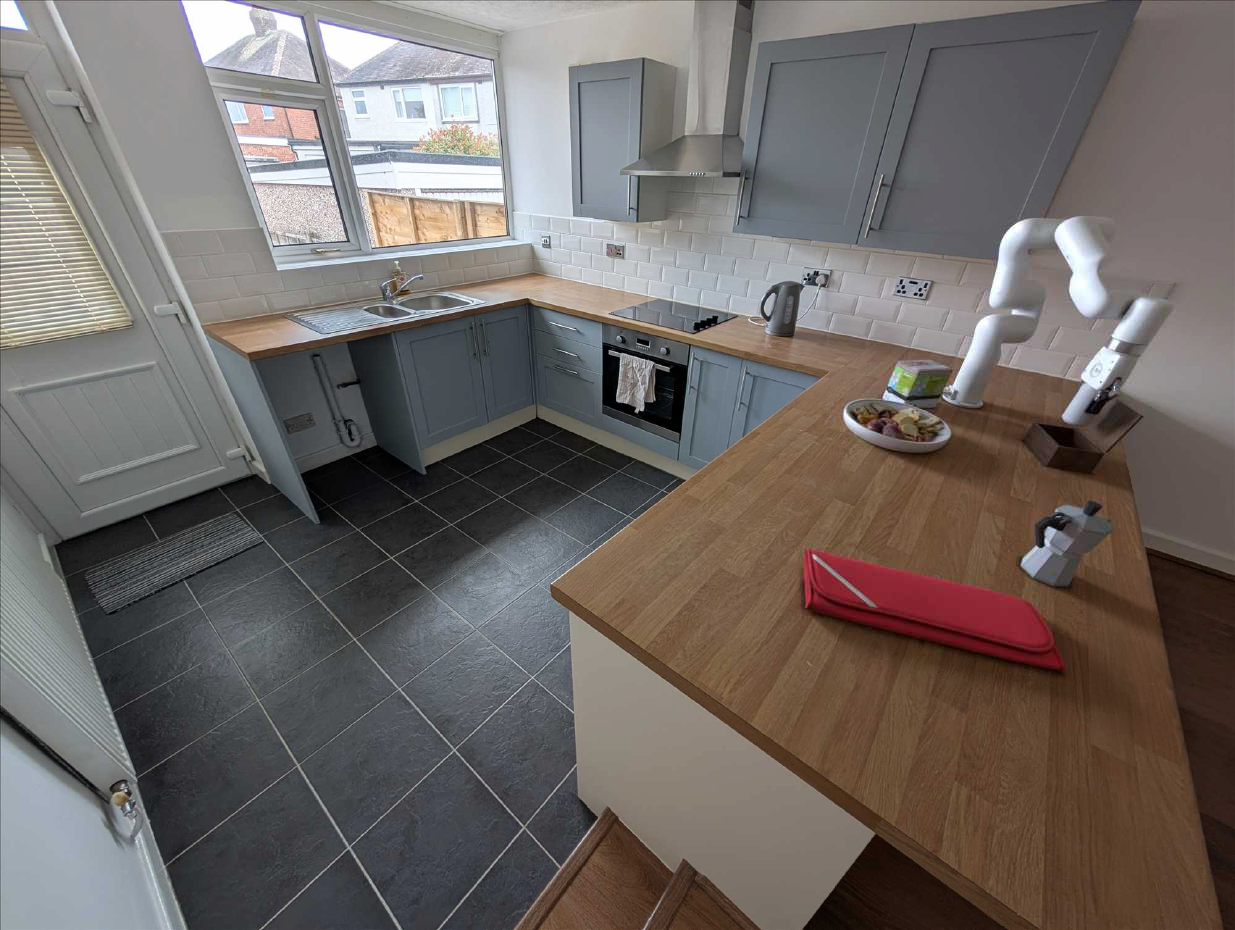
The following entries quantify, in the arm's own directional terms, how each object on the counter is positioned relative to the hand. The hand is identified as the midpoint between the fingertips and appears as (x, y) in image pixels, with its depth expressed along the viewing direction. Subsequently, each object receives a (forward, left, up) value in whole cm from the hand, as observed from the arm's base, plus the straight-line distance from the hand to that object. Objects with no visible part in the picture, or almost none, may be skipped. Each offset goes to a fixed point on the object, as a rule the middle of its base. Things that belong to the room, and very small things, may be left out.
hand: (1084, 407), depth 134 cm
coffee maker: (-27, -60, -16) cm, 68 cm away
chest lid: (+7, 0, -3) cm, 7 cm away
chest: (0, 0, -16) cm, 16 cm away
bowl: (-46, -3, -16) cm, 49 cm away
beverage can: (0, 0, -5) cm, 5 cm away
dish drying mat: (-55, -80, -16) cm, 99 cm away
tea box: (-35, +25, -16) cm, 46 cm away
